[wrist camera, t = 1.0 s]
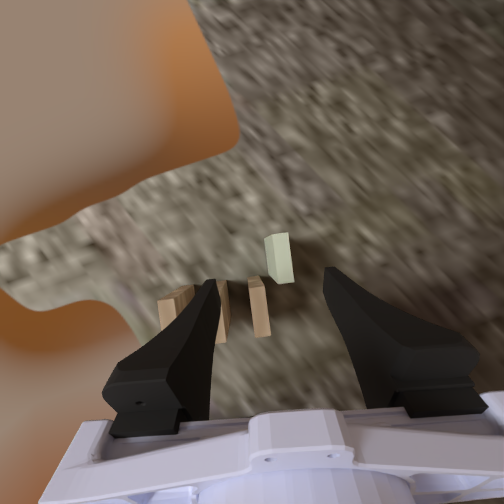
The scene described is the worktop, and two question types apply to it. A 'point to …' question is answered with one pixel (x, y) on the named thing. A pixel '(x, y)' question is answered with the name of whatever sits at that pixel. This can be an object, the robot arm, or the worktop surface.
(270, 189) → the worktop surface
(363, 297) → the robot arm
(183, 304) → the domino
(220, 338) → the domino
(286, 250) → the domino
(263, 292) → the domino
